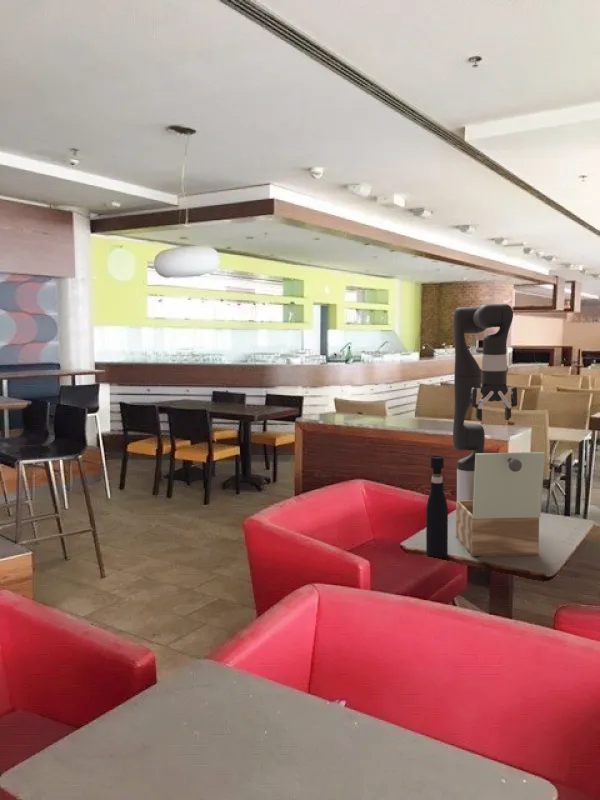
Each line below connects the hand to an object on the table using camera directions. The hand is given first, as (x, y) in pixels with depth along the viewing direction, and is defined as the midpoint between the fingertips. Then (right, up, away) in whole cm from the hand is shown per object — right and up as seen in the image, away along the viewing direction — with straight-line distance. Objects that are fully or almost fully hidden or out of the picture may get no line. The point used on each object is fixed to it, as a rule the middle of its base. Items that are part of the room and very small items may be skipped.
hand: (493, 420), depth 217 cm
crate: (+1, -39, 0) cm, 39 cm away
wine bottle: (-19, -41, -7) cm, 46 cm away
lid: (+1, -19, -13) cm, 23 cm away
